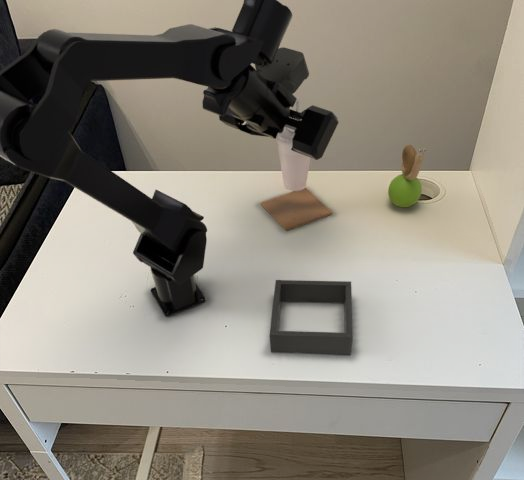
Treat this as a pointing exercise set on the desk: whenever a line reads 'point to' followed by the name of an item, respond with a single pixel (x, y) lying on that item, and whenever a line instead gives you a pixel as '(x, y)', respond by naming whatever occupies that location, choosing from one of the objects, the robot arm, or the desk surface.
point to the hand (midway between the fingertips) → (300, 141)
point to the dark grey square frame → (311, 340)
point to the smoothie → (292, 160)
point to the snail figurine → (407, 179)
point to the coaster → (296, 209)
